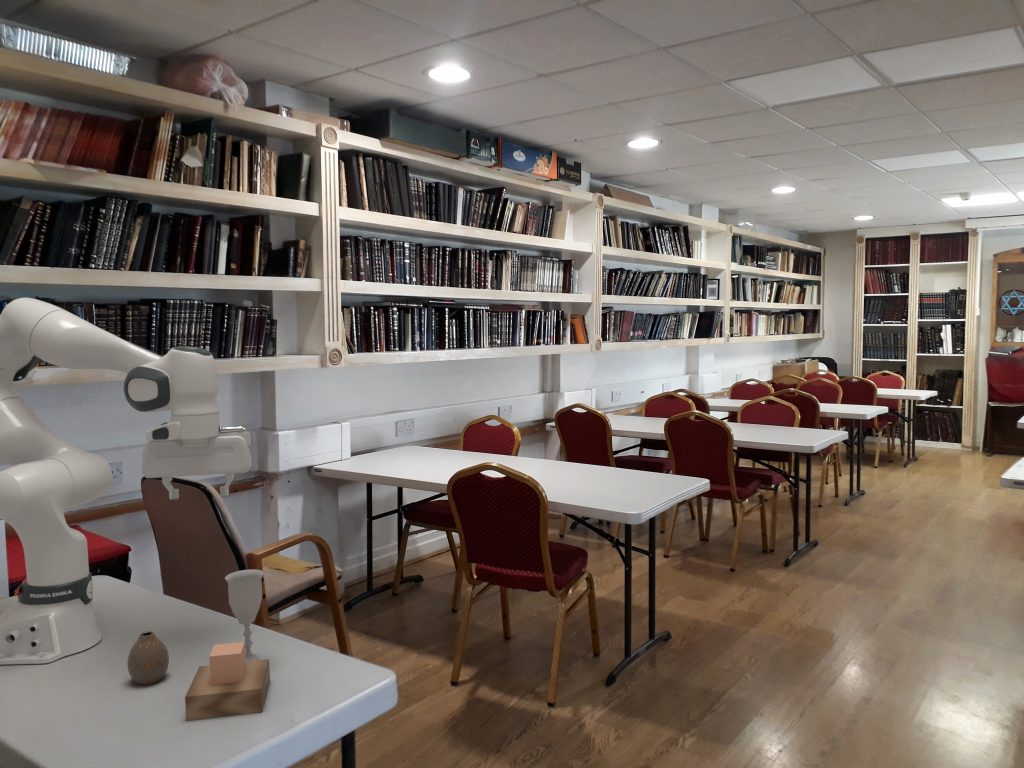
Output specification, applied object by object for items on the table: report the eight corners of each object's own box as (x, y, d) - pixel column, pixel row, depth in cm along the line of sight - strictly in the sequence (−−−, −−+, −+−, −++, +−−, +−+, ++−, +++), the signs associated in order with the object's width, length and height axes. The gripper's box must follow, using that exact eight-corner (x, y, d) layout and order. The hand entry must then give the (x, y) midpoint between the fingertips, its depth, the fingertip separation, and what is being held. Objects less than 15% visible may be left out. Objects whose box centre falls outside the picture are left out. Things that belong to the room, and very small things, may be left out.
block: (211, 685, 131) (209, 656, 130) (216, 672, 136) (214, 644, 135) (242, 681, 132) (240, 653, 131) (246, 669, 137) (244, 641, 136)
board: (186, 720, 127) (185, 697, 127) (200, 688, 139) (199, 666, 138) (262, 711, 129) (261, 688, 129) (270, 680, 141) (269, 659, 141)
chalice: (255, 678, 142) (250, 582, 141) (221, 675, 144) (217, 580, 142) (275, 661, 149) (270, 570, 148) (243, 659, 151) (238, 568, 150)
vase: (143, 691, 138) (140, 643, 137) (120, 683, 142) (117, 636, 141) (177, 676, 144) (175, 630, 143) (155, 668, 147) (152, 623, 147)
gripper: (252, 423, 158) (256, 490, 159) (145, 428, 154) (149, 497, 155) (248, 427, 152) (252, 496, 153) (137, 432, 148) (141, 504, 149)
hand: (199, 497), depth 154 cm, fingers open, 8 cm apart
